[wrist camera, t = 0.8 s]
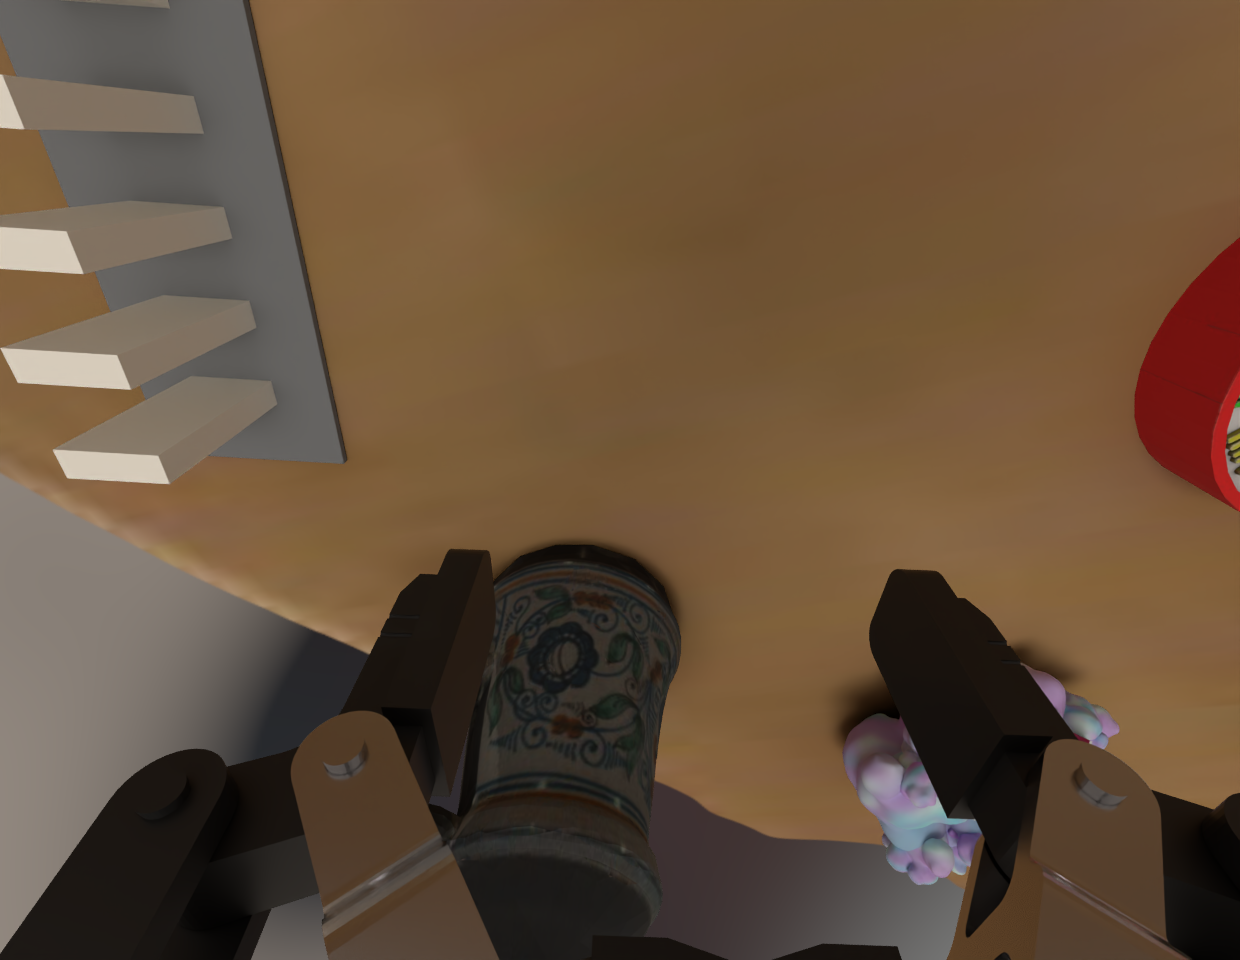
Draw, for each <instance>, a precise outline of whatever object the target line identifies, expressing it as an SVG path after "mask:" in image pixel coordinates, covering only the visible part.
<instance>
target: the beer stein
mask: <svg viewBox="0 0 1240 960" xmlns="http://www.w3.org/2000/svg"><path fill="white" fill-rule="evenodd" d="M493 585H494V594H495V604H496V620H495V629H494V635H493V639H492V643H491V647H490V650H489V654H488V658H487V661H486V665H485V669H484V673H483V676H482V680H481V684H480V687H479V691H478V695H477V699H476V702H475V706H474V710H473V713H472V717H471V721H470V725H469V730H468V736H467V743H466V750H465V756H464V764H463V773H462V782H461V793H460V800H459V808H458V813H457V815H456V814H454V813H452V812H450V811H448V810H446V809H444V808H442V807H440V806H436V805H432V804H428V808H429V810H430V813H431V815H432V817H433V820H434V822H435V824H436V827H437V829H438V831H439V833H440V835H441V837H442V839H443V841H446V843H447V844H448V846H449V848H450V850H451V852H452V854H453V856H454V858H455V860H456V862H457V865H458V867H459V869H460V871H461V874H462V876H463V878H464V880H465V883H466V885H467V887H468V890H469V892H470V894H471V896H472V899H473V901H474V903H475V906H476V908H477V910H478V912H479V915H480V917H481V919H482V922H483V924H484V926H485V928H486V931H487V933H488V935H489V937H490V940H491V942H492V944H493V947H494V949H495V951H496V953H497V956H498V958H499V960H582V959H585V958H588V957H591V956H592V936H593V935H602V936H629V937H644V936H645V934H646V933H647V930H648V928H649V927H650V925H651V924H652V923H653V921H654V920H655V919H656V917H657V915H658V913H659V910H660V906H661V903H662V885H661V880H660V876H659V872H658V867H657V863H656V859H655V855H654V854H653V852H652V850H651V848H650V847H649V843H648V838H649V824H650V817H651V807H652V799H653V787H654V778H655V767H656V759H657V751H658V743H659V735H660V728H661V722H662V715H663V710H664V705H665V700H666V696H667V692H668V689H669V685H670V683H671V681H672V679H673V677H674V675H675V673H676V671H677V668H678V665H679V660H680V654H681V635H680V630H679V626H678V623H677V621H676V619H675V617H674V615H673V613H672V610H671V607H670V604H669V601H668V598H667V595H666V592H665V589H664V587H663V586H662V585H661V584H660V583H659V582H658V581H657V580H656V579H655V578H654V577H653V576H652V575H651V574H650V573H649V572H648V571H647V570H646V569H645V568H643V567H642V566H641V565H640V564H639V563H638V562H637V561H636V560H635V559H633V558H630V557H627V556H624V555H621V554H618V553H615V552H612V551H609V550H606V549H603V548H600V547H597V546H594V545H555V546H551V547H548V548H545V549H542V550H539V551H536V552H532V553H529V554H526V555H523V556H520V557H519V558H518V559H517V560H516V561H515V562H514V563H513V564H511V565H510V566H509V567H508V568H507V569H506V570H505V571H504V572H503V573H502V574H501V575H500V576H499V577H498V578H496V579H495V580H494V582H493Z"/></svg>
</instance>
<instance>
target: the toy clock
mask: <svg viewBox="0 0 1240 960" xmlns="http://www.w3.org/2000/svg"><path fill="white" fill-rule="evenodd" d="M1135 421H1136V425H1137V429H1138V433H1139V437H1140V439H1141V440H1142V442H1143V444H1144V446H1145V447H1146V449H1147V451H1148V453H1149V454H1150V455H1151V456H1152V457H1153V458H1154V459H1155V460H1156V461H1158V462H1159V463H1160V464H1161V465H1162V466H1163V467H1165V468H1166V469H1168V470H1170V471H1171V472H1173V473H1175V474H1176V475H1178V476H1180V477H1181V478H1183V479H1185V480H1187V481H1188V482H1190V483H1192V484H1193V485H1195V486H1197V487H1198V488H1200V489H1202V490H1203V491H1205V492H1207V493H1208V494H1210V495H1212V496H1214V497H1215V498H1217V499H1219V500H1220V501H1222V502H1224V503H1225V504H1227V505H1229V506H1230V507H1232V508H1234V509H1235V510H1237V511H1239V512H1240V238H1239V239H1237V240H1236V241H1235V242H1234V243H1233V244H1231V245H1230V246H1229V247H1228V248H1227V249H1225V250H1224V251H1223V252H1222V253H1221V254H1219V255H1218V256H1217V257H1216V259H1215V260H1214V261H1213V262H1212V263H1211V264H1210V265H1209V266H1208V267H1207V268H1206V269H1205V270H1204V271H1203V272H1202V273H1201V274H1200V275H1199V276H1198V277H1197V278H1196V279H1195V280H1194V281H1193V282H1192V283H1191V285H1190V286H1189V287H1188V288H1187V290H1186V291H1185V292H1184V294H1183V295H1182V296H1181V298H1180V299H1179V300H1178V301H1177V303H1176V304H1175V305H1174V307H1173V308H1172V309H1171V310H1170V312H1169V313H1168V315H1167V316H1166V318H1165V320H1164V322H1163V323H1162V325H1161V327H1160V328H1159V330H1158V332H1157V333H1156V335H1155V337H1154V339H1153V340H1152V342H1151V344H1150V347H1149V349H1148V352H1147V354H1146V357H1145V359H1144V361H1143V364H1142V366H1141V369H1140V373H1139V377H1138V382H1137V387H1136V391H1135Z"/></svg>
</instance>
